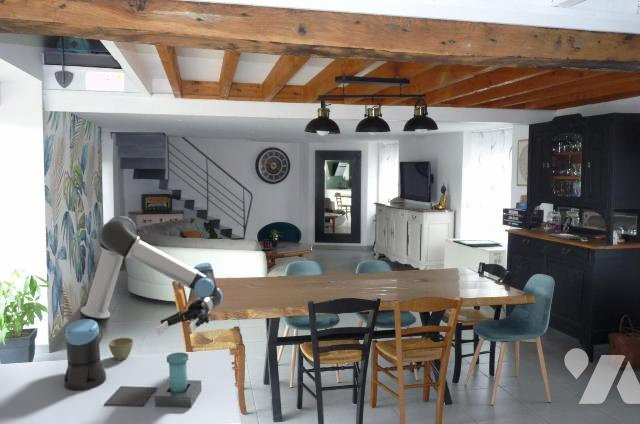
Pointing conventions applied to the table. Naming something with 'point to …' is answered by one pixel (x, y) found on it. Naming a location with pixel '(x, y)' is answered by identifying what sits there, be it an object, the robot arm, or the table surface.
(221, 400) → the table surface
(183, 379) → the teal capped cylinder
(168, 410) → the table surface
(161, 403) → the housing
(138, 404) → the mat
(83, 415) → the table surface
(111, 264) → the robot arm
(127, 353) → the flower pot
